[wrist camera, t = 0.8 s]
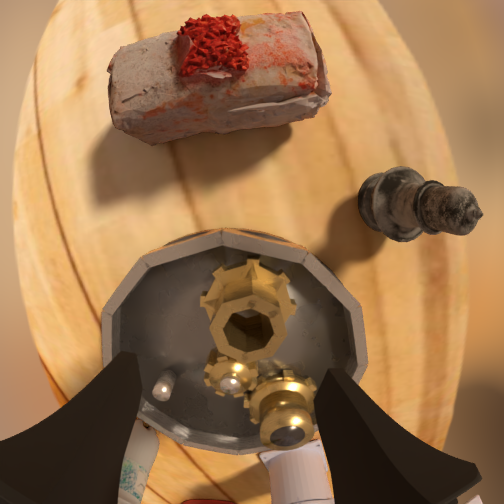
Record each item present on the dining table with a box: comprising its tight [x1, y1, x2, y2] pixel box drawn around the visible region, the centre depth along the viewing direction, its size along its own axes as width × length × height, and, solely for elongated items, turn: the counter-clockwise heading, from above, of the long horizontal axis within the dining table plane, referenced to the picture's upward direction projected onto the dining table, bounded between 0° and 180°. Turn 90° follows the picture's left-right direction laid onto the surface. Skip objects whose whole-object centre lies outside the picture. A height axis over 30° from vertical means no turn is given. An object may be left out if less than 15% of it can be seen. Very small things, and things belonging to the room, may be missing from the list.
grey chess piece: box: [358, 166, 483, 242], centre depth 16 cm, size 6×6×12 cm
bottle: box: [118, 419, 159, 504], centre depth 17 cm, size 7×7×20 cm
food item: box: [107, 11, 332, 146], centre depth 15 cm, size 14×8×10 cm, turn 102°
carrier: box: [102, 228, 368, 455], centre depth 21 cm, size 24×24×7 cm
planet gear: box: [200, 255, 297, 363], centre depth 19 cm, size 7×7×5 cm
